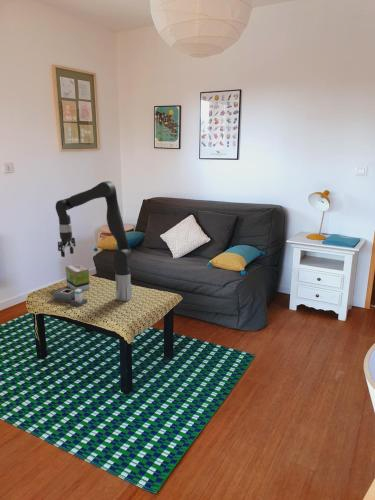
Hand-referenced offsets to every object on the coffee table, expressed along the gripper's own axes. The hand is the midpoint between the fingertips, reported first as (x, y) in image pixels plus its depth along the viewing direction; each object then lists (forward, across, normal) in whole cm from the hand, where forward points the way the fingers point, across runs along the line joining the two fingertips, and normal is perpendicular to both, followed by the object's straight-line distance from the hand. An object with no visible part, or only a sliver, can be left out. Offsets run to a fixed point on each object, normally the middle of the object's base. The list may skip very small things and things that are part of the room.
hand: (67, 255), depth 251 cm
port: (+26, -10, -6) cm, 28 cm away
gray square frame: (+26, -13, -17) cm, 34 cm away
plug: (+26, -13, -17) cm, 34 cm away
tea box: (+26, +8, 0) cm, 27 cm away
